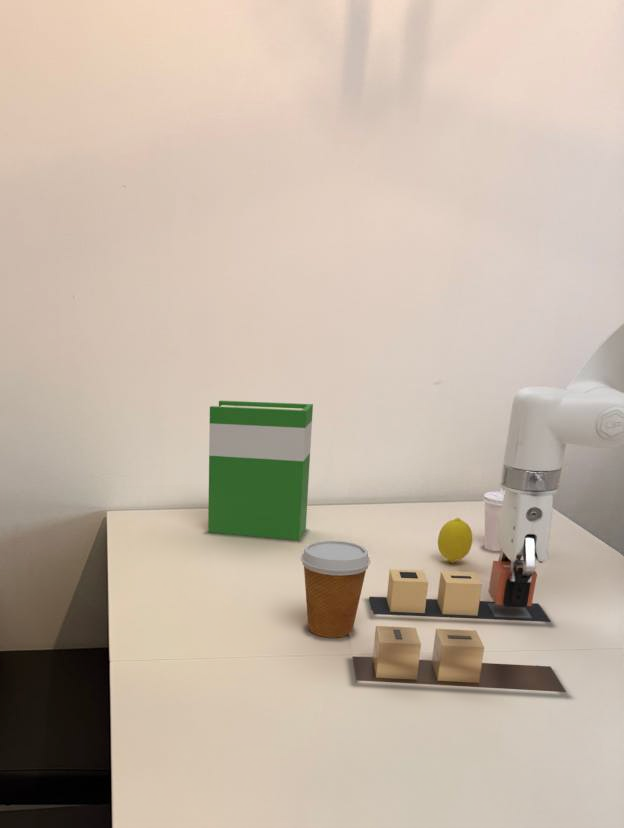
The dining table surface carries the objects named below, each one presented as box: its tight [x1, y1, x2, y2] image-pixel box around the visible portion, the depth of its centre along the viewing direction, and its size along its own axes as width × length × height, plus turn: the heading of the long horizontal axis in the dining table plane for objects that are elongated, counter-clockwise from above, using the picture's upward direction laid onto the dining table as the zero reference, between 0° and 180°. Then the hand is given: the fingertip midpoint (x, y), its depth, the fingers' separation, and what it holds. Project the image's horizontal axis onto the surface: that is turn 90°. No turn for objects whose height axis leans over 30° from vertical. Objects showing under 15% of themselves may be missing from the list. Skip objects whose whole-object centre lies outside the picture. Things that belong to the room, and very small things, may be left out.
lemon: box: [437, 517, 473, 564], centre depth 148 cm, size 6×6×8 cm
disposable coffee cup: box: [300, 540, 371, 639], centre depth 122 cm, size 10×10×12 cm
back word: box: [368, 568, 552, 623], centre depth 129 cm, size 25×7×6 cm, turn 81°
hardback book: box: [207, 400, 314, 541], centre depth 164 cm, size 18×7×24 cm, turn 71°
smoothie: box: [482, 487, 505, 552], centre depth 154 cm, size 6×6×14 cm
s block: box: [487, 560, 538, 606], centre depth 127 cm, size 5×5×5 cm
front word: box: [352, 625, 567, 693], centre depth 110 cm, size 25×7×6 cm, turn 81°
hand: (510, 597), depth 128 cm, fingers closed on s block, 5 cm apart
